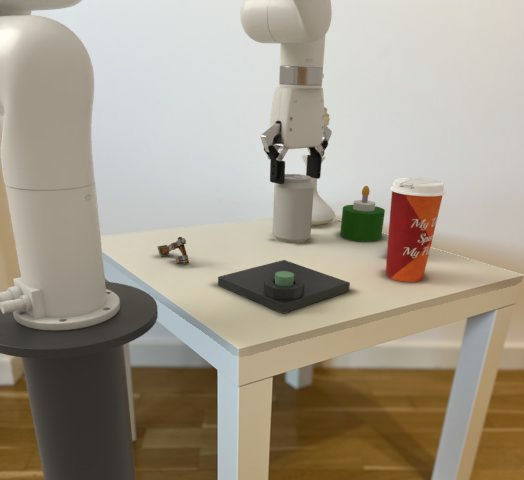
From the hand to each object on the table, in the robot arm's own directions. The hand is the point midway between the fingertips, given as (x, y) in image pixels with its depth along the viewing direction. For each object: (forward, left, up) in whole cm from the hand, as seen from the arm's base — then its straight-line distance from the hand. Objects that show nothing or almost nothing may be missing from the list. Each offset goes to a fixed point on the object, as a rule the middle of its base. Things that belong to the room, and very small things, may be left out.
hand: (295, 180), depth 103 cm
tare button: (-25, -23, -9) cm, 35 cm away
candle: (+13, -7, -11) cm, 18 cm away
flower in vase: (+13, +8, -11) cm, 19 cm away
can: (0, 0, -11) cm, 11 cm away
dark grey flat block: (-21, -19, -11) cm, 31 cm away
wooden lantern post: (-26, +2, -11) cm, 29 cm away
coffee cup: (-1, -27, -11) cm, 29 cm away
